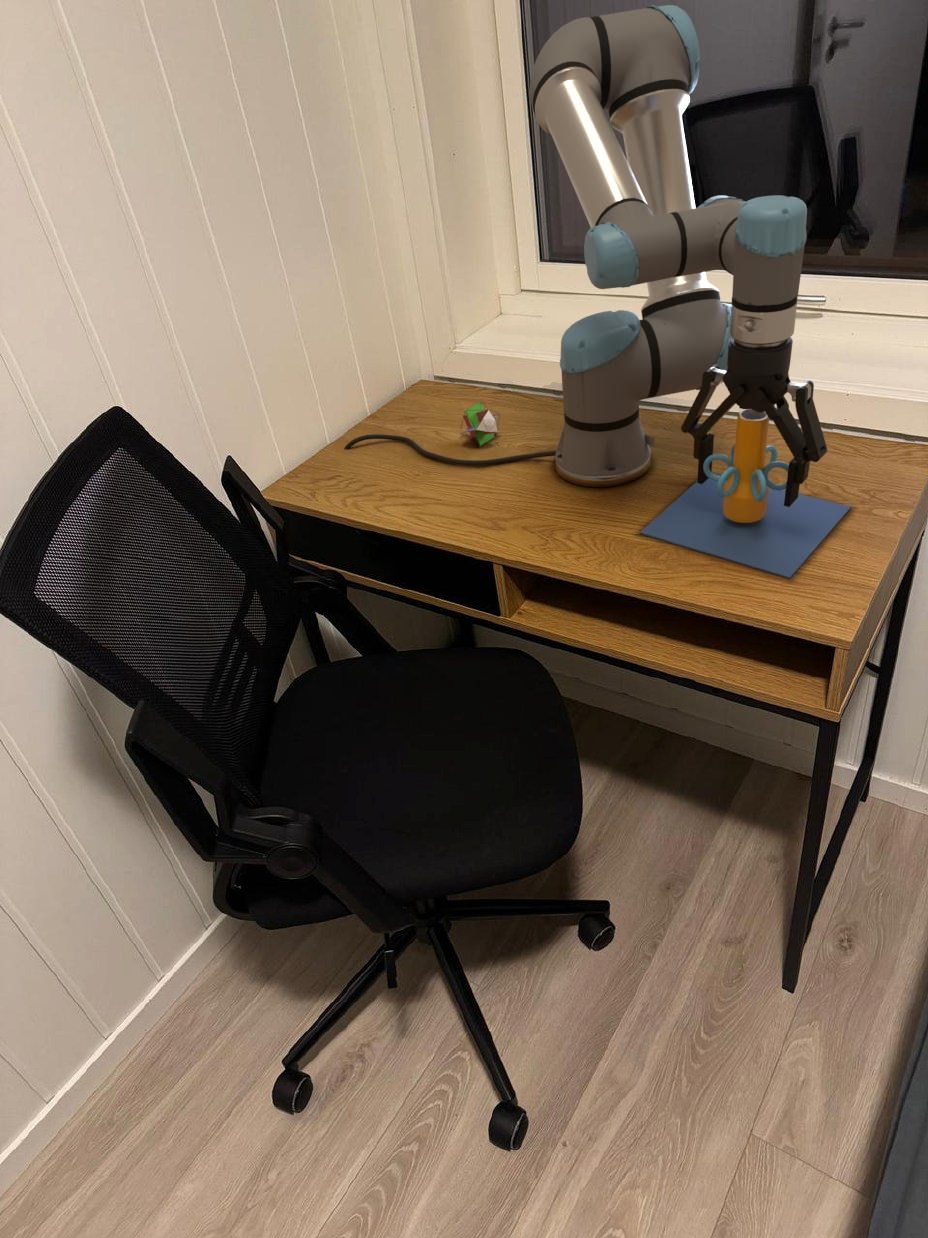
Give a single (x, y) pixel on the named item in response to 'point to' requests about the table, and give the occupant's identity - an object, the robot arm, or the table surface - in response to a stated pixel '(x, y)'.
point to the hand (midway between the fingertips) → (746, 490)
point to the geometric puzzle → (480, 423)
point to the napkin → (748, 529)
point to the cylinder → (747, 470)
